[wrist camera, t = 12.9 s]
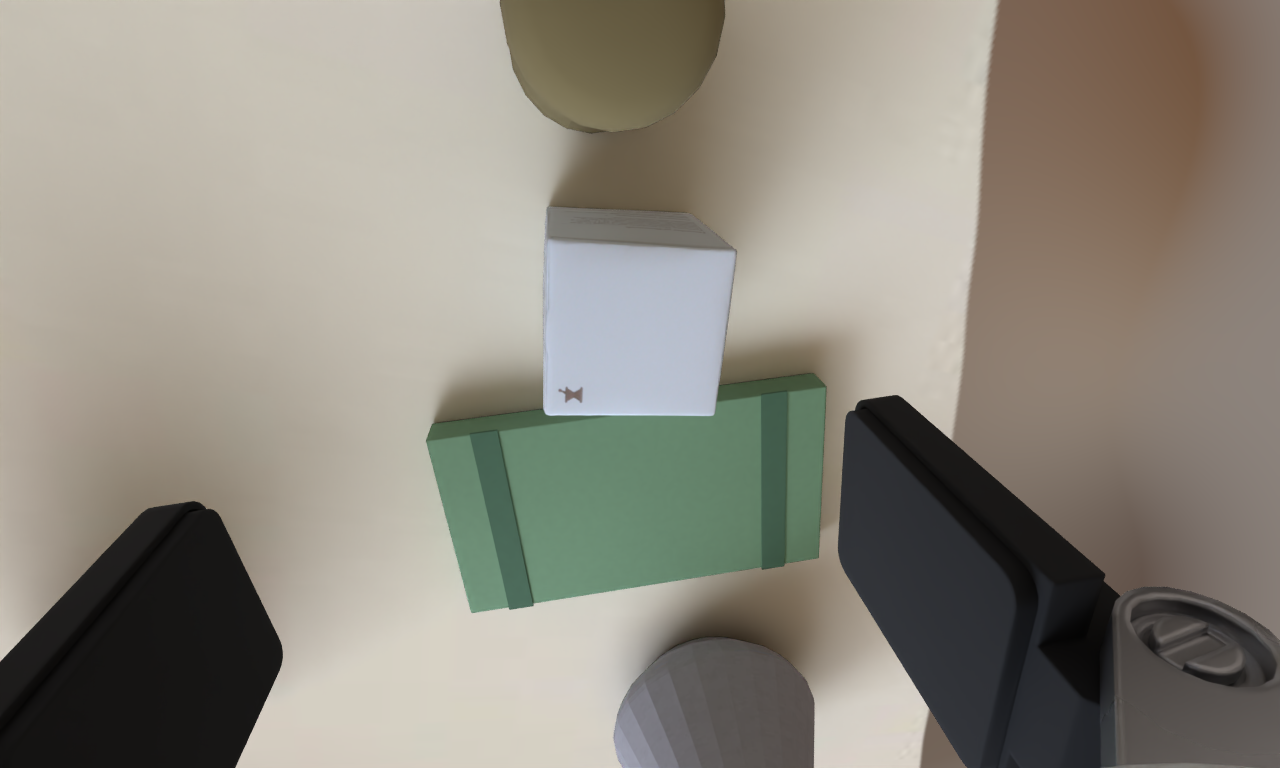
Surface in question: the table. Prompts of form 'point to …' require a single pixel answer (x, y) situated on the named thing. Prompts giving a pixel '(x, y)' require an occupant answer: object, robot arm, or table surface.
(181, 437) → the table surface
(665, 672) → the coffee pot
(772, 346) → the table surface
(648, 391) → the product box
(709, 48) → the olive pawn
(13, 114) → the table surface
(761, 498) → the dish towel
